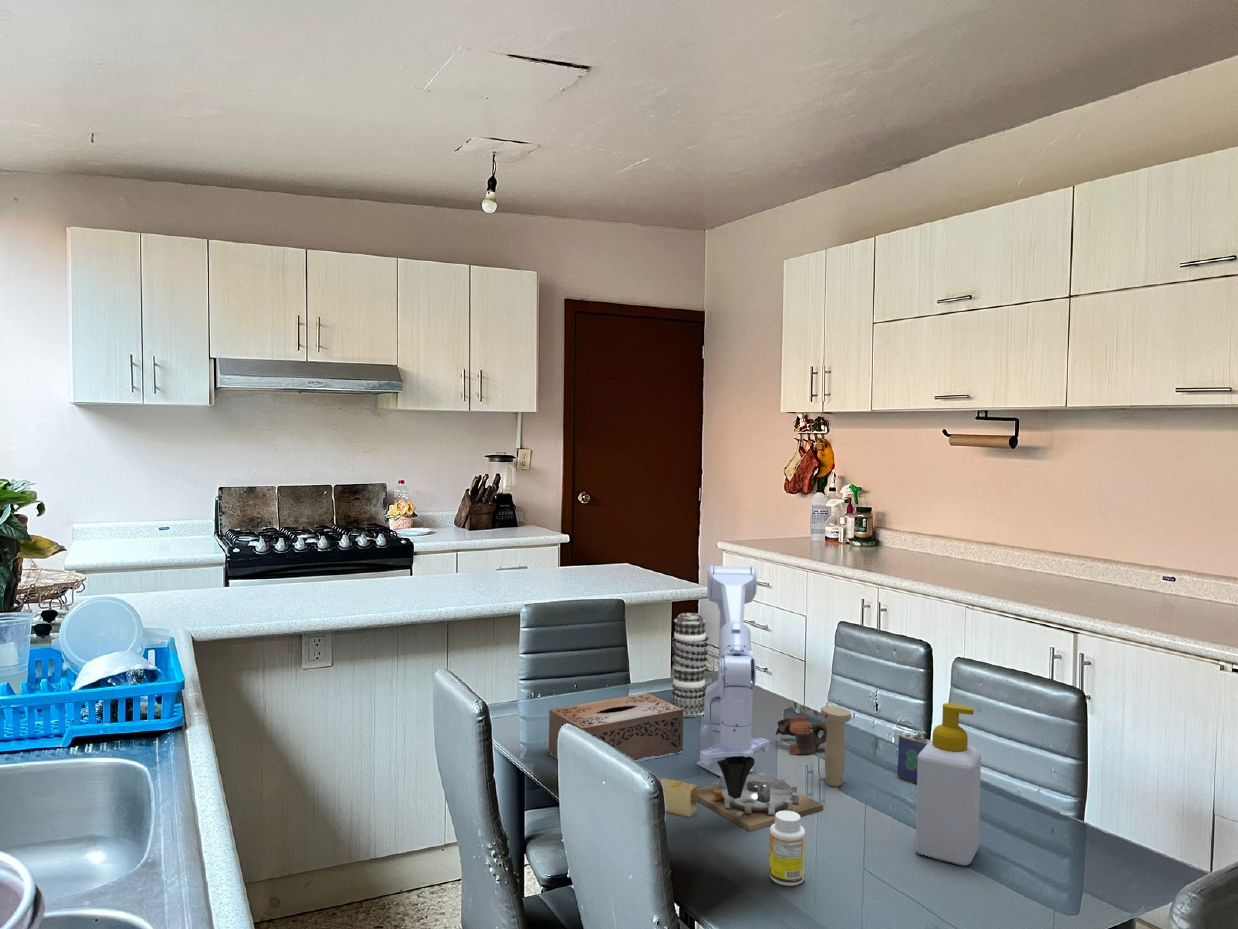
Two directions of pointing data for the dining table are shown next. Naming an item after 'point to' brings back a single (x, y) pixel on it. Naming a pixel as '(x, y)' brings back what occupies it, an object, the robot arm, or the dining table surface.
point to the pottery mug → (802, 734)
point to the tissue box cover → (625, 724)
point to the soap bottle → (948, 792)
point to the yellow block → (680, 797)
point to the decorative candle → (689, 663)
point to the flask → (910, 755)
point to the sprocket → (759, 794)
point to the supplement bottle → (787, 849)
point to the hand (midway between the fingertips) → (734, 796)
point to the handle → (835, 743)
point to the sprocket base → (755, 818)
